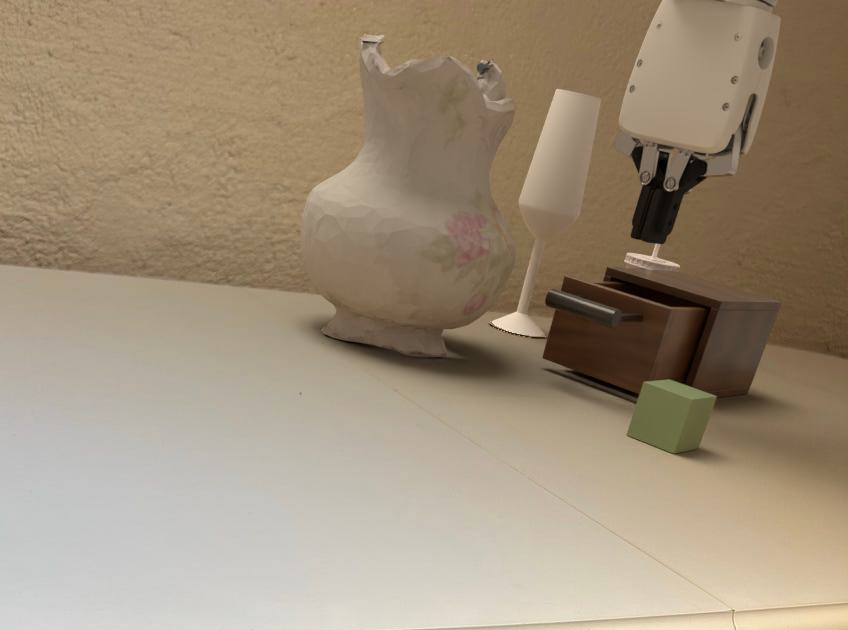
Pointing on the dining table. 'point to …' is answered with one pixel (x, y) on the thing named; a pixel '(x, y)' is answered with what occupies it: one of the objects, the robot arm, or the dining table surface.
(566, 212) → the champagne flute
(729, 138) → the robot arm
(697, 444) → the block
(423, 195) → the ceramic pitcher
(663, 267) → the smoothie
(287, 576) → the dining table surface
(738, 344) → the cabinet
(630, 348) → the drawer
